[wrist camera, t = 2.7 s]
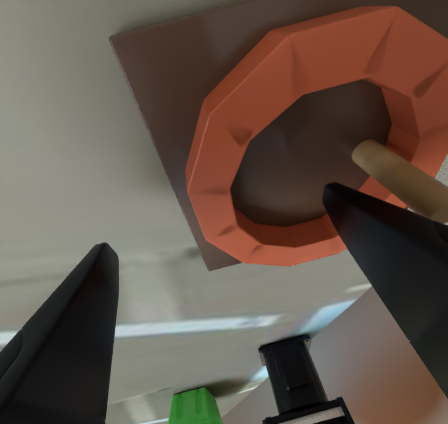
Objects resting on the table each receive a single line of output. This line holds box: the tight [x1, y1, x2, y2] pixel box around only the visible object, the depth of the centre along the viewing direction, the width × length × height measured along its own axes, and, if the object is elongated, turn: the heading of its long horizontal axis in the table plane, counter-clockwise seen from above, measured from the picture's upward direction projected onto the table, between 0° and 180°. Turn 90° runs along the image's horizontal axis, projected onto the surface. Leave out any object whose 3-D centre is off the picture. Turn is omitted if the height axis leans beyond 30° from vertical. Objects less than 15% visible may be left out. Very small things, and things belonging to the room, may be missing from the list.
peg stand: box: [109, 0, 448, 271], centre depth 9 cm, size 12×13×5 cm
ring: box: [185, 6, 448, 266], centre depth 10 cm, size 11×11×2 cm
